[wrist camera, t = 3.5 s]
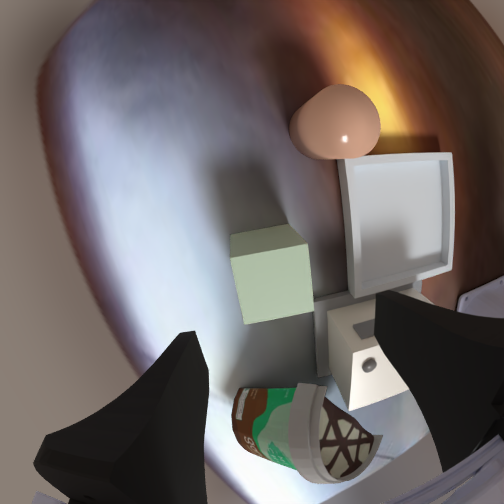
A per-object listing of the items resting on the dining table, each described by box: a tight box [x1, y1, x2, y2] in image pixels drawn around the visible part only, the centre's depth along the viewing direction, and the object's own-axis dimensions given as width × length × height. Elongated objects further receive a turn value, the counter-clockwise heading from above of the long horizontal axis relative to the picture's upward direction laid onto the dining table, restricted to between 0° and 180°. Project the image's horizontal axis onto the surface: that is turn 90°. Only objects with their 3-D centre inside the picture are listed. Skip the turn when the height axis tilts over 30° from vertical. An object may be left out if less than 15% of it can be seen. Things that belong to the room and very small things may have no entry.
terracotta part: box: [289, 84, 381, 160], centre depth 15 cm, size 4×4×5 cm
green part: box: [230, 224, 314, 325], centre depth 17 cm, size 4×4×5 cm
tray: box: [337, 152, 455, 298], centre depth 18 cm, size 10×10×1 cm
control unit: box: [313, 280, 434, 411], centre depth 19 cm, size 10×8×6 cm
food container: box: [231, 383, 383, 484], centre depth 19 cm, size 12×6×10 cm
